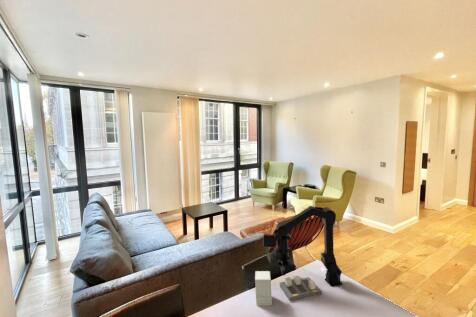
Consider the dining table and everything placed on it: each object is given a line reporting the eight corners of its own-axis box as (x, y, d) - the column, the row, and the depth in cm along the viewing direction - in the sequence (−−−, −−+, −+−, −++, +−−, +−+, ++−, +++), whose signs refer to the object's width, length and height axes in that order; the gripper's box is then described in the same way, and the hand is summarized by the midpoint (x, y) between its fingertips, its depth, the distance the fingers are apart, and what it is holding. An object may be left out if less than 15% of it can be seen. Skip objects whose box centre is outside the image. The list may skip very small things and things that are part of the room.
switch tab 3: (312, 286, 116) (312, 279, 116) (315, 288, 114) (315, 282, 114) (308, 286, 116) (308, 280, 115) (311, 289, 113) (310, 283, 113)
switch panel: (308, 280, 124) (308, 276, 124) (321, 294, 113) (321, 290, 113) (279, 286, 121) (279, 282, 121) (289, 301, 109) (289, 297, 109)
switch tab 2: (298, 281, 120) (298, 275, 120) (300, 284, 118) (300, 278, 118) (294, 282, 120) (294, 276, 120) (296, 285, 118) (296, 278, 117)
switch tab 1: (289, 283, 119) (289, 277, 119) (291, 285, 117) (291, 279, 117) (285, 284, 119) (285, 278, 119) (287, 286, 116) (287, 280, 116)
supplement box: (271, 295, 114) (270, 270, 113) (271, 306, 106) (271, 279, 106) (256, 295, 114) (255, 270, 114) (255, 305, 107) (254, 279, 106)
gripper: (262, 241, 130) (263, 268, 131) (275, 257, 112) (276, 288, 113) (280, 239, 133) (281, 265, 134) (296, 254, 114) (297, 284, 115)
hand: (283, 275), depth 124 cm, fingers closed
